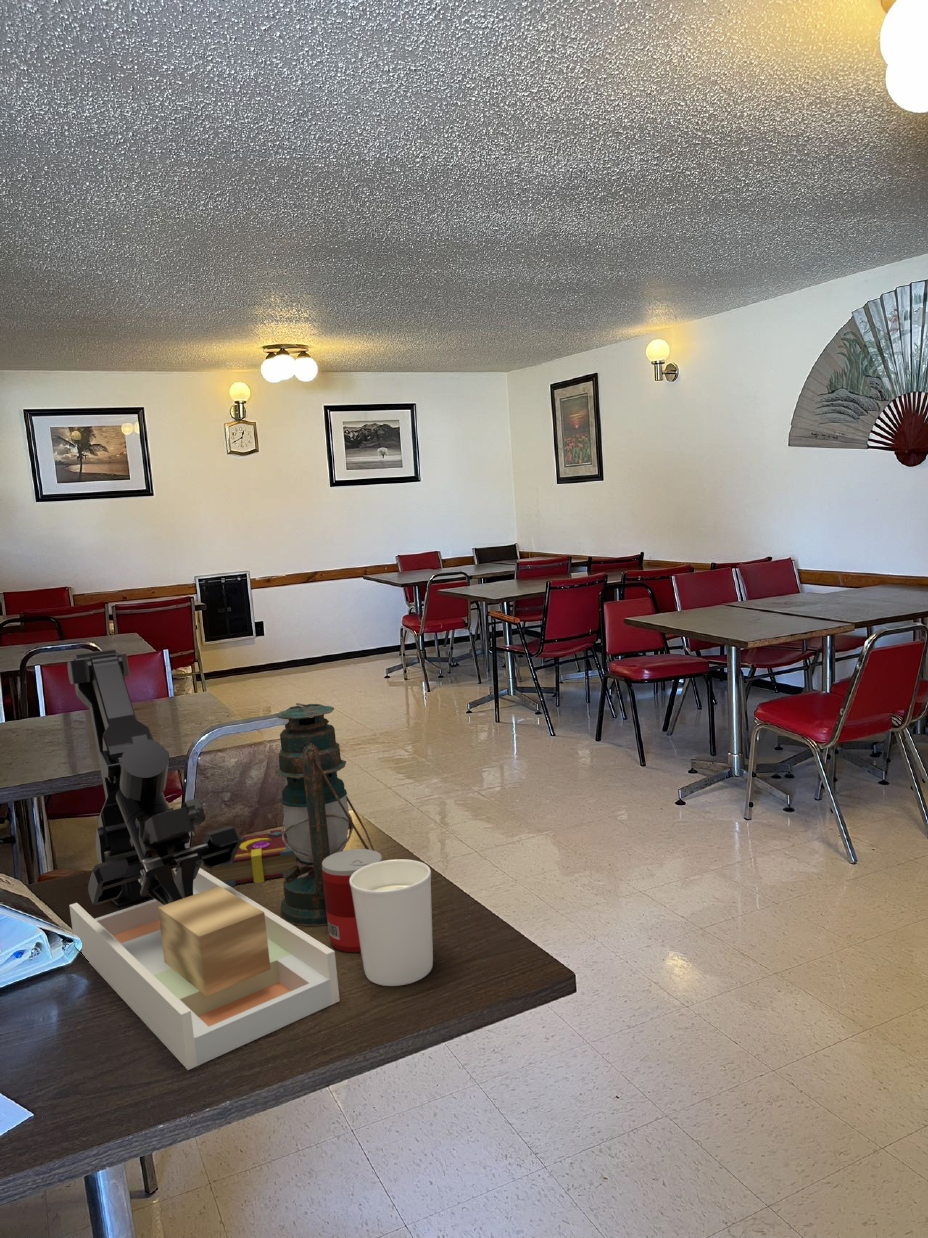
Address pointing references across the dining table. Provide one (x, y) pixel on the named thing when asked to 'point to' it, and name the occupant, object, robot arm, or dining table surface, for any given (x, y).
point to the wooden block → (214, 939)
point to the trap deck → (177, 1008)
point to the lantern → (311, 809)
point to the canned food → (343, 895)
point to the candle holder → (394, 920)
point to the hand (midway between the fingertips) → (190, 921)
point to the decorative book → (258, 860)
